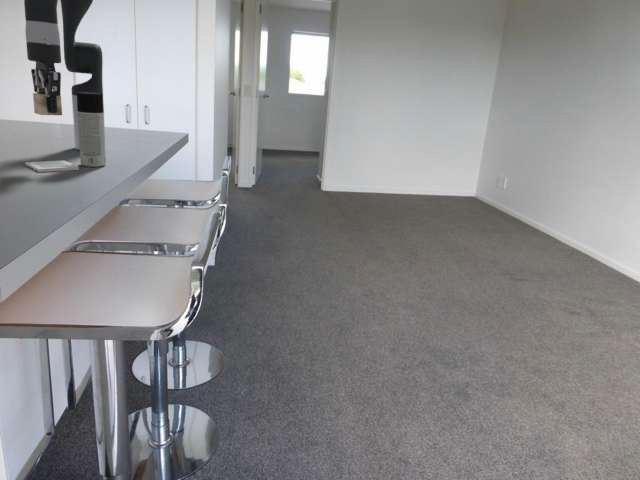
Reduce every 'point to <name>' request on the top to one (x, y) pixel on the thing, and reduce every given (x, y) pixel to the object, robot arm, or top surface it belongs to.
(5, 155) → the top surface
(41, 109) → the letter cube
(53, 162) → the reading tile
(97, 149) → the tall grey carton
